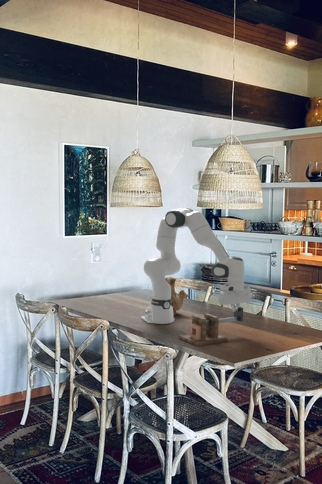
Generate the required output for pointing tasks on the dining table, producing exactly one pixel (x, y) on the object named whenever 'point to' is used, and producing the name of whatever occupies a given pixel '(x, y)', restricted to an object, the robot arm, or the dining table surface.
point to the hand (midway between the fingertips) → (235, 311)
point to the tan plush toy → (176, 295)
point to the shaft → (237, 317)
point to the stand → (205, 331)
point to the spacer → (198, 331)
